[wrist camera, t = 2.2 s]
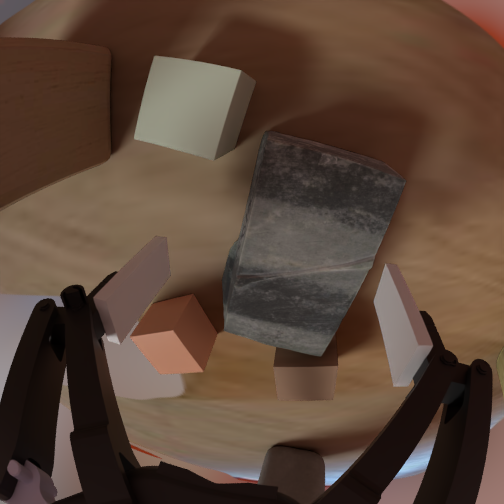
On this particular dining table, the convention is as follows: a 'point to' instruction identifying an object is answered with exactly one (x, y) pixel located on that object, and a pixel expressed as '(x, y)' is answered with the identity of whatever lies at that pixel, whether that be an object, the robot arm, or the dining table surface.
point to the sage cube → (194, 106)
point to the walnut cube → (306, 374)
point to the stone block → (305, 241)
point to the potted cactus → (501, 369)
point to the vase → (294, 473)
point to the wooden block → (51, 113)
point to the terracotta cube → (176, 336)
